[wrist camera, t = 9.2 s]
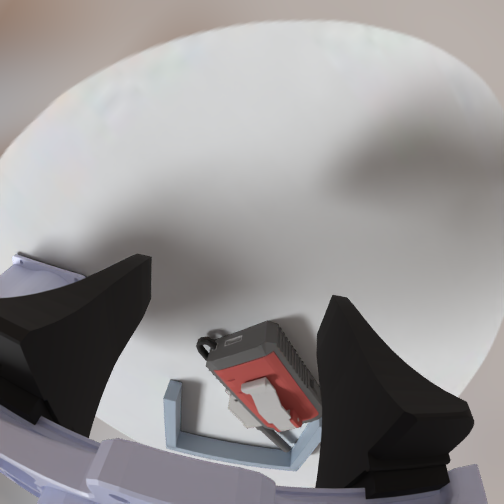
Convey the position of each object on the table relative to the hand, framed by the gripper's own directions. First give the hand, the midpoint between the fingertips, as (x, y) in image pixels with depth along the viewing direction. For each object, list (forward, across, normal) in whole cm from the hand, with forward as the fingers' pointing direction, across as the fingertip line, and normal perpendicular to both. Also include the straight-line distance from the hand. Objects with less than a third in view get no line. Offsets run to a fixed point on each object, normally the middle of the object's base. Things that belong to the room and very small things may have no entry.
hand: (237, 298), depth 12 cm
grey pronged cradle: (+9, -3, +24) cm, 25 cm away
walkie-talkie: (+10, -5, +17) cm, 21 cm away
